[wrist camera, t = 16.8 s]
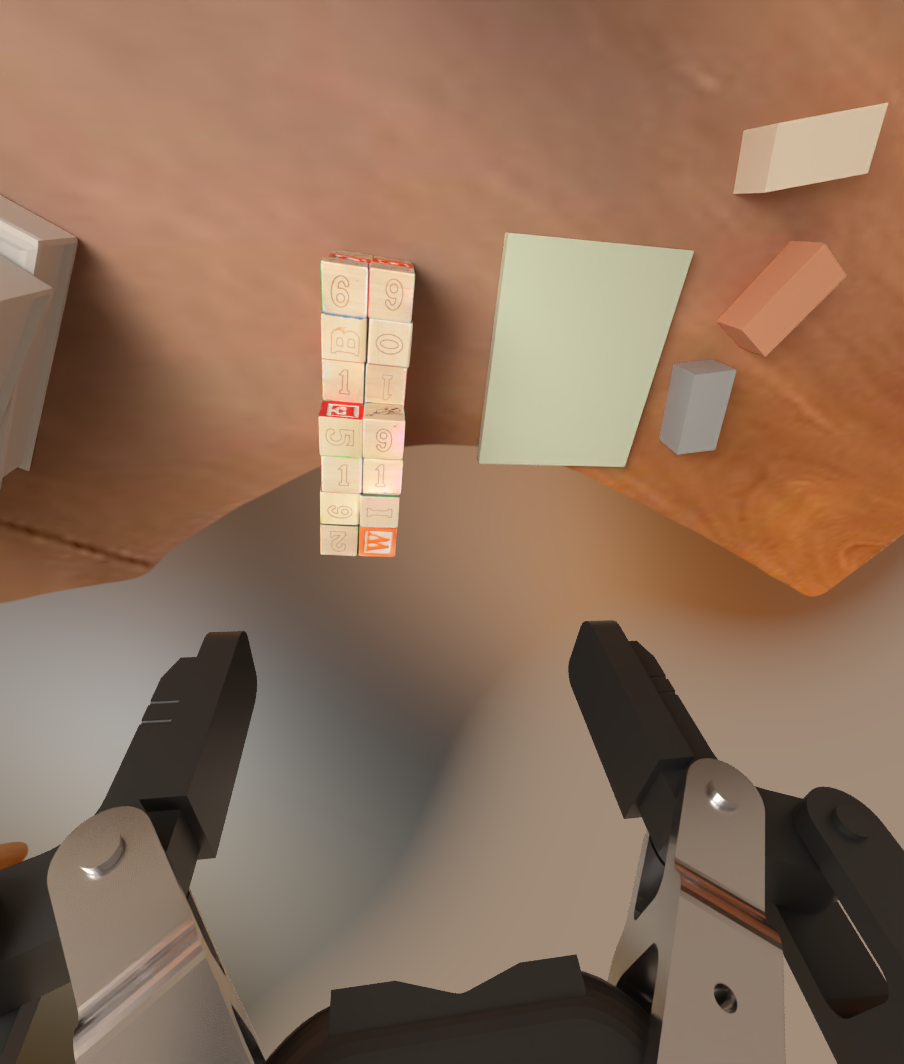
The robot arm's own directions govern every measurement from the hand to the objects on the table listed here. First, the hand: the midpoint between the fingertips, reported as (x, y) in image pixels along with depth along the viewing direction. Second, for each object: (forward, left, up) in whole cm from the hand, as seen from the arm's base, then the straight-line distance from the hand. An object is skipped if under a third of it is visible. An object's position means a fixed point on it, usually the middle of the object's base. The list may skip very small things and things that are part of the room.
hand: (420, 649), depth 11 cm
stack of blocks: (+5, -2, -36) cm, 37 cm away
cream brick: (-15, +31, -36) cm, 50 cm away
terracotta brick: (-5, +34, -36) cm, 50 cm away
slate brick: (+5, +30, -36) cm, 47 cm away
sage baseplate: (+2, +17, -36) cm, 40 cm away
